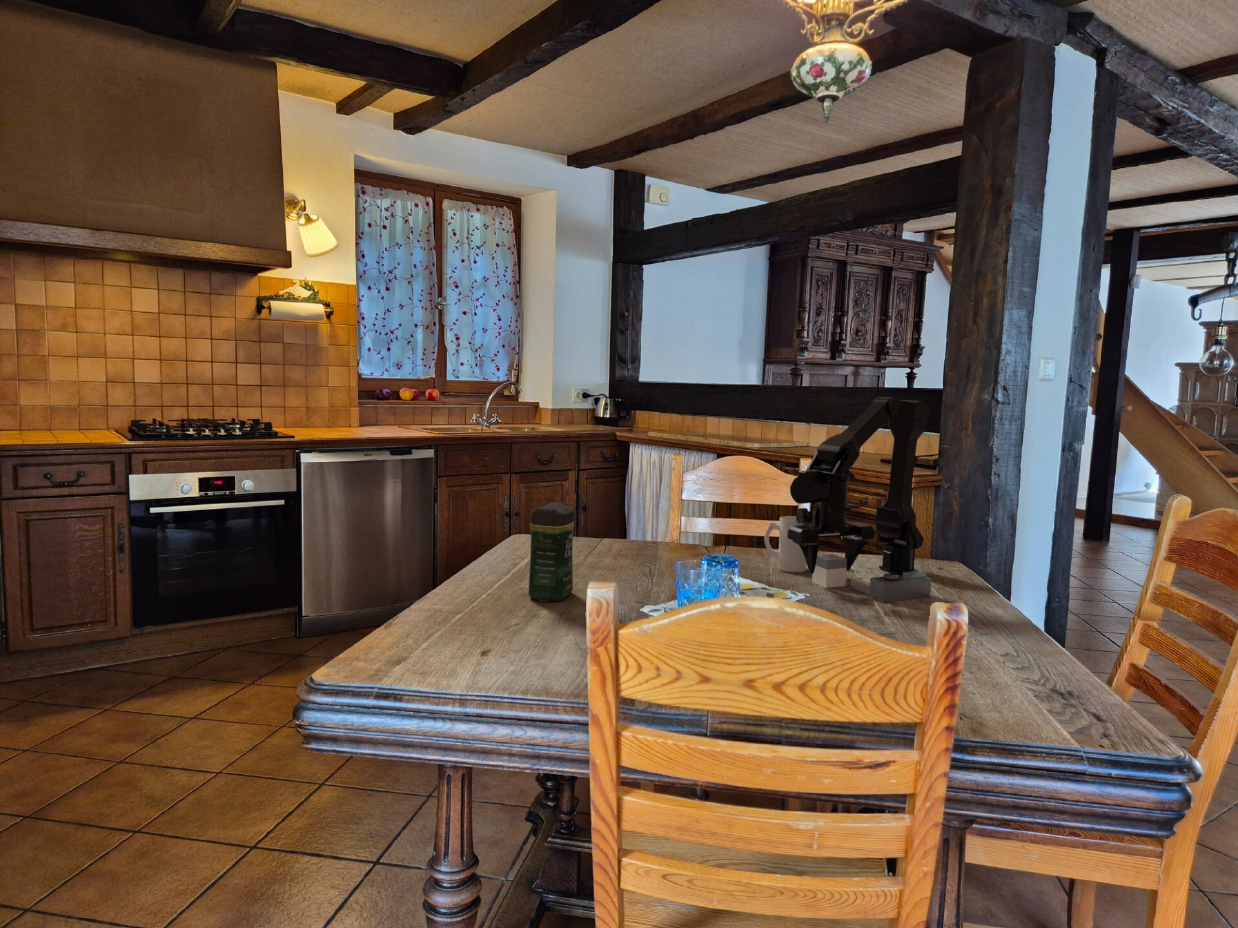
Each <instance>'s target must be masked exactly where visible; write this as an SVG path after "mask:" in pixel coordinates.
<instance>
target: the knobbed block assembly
mask: <svg viewBox="0 0 1238 928" xmlns="http://www.w3.org/2000/svg"><path fill="white" fill-rule="evenodd" d="M869 580H870V581H866V580H864V579H863V578H862V577H851V578H850V588H851V589H854V590H856V591H859V592H860V593H863V594H865V595H868V597H869V598H871V599H874V600H876V601H879V602H881V603H886V602H887V603H888V602H897V601H905V600H908V601H909V600H917V599H926V598H931V594H932V593H931V591H932V577H929V576H928V573H926V572H923V571H921V570H919V571H911V572H903V574H894V573H892V572H888V573H887V572H886V573H884V574H883V575H882V576H875V577H870V579H869Z"/></svg>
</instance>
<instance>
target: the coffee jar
mask: <svg viewBox="0 0 1238 928" xmlns="http://www.w3.org/2000/svg"><path fill="white" fill-rule="evenodd" d="M529 519H530V520H529V529H530V531H529V532H530V556H529V559H530V560H529V578H528V596H529V597H530V598H533V599H535V600H538V601H539V602H540V601H541V602H549V601H558V602H559V601H562V600H563V599H565V598H567V597H569V596H570V594H572V592H573V590H574V588H573V587H574V584H573V583H574V582H573V581H574V580H573V579H574V576H573V574H574V573H573V548H574V546H573V545H574V543H573V538H574V528H575V527H574V525H575V510H574V509H573V507H572V506H570V504H568V503H561V502H550V503H548V504H545V505H543V506H539V507H536V508H535V509H533V510H531V511H530V517H529Z"/></svg>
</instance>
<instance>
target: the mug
mask: <svg viewBox="0 0 1238 928" xmlns="http://www.w3.org/2000/svg"><path fill="white" fill-rule="evenodd" d="M801 525H803V523H797V521H796V515H795V516H793V515H791V516H790V515H786V516H780V517H779V523H776V522H775V521H774V522H772V521H769V525H768V526H767V528H766V530H765V534H764V544H765V545H764V546H765V547H766V551H767V553H768V555H769V557H775V558H778V570H780V571H783V572H785V573H786V572H787V573H795V574H797V573H804V572H806V571H807V563H806V560H805V557H804V554H803V552H802V549H801V547H800V546H799V545H798V544H796V543H794V542H793V540H791V539H788V530H789V528H790V527H791V526H801ZM774 530H778V531H779V537H778V538H779V539H778V542H779V543H778V544H779V547H778V549H777V550H775V549H774V548H772V546H771V543H770V534H771V533H772V531H774Z"/></svg>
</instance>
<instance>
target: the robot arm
mask: <svg viewBox="0 0 1238 928" xmlns="http://www.w3.org/2000/svg"><path fill="white" fill-rule="evenodd" d="M929 409H930V408H929V407H928V406H927V404H926V403H925V402H924V401H922V400H909V399H908V400H907V399H906V400H905V399H902V400H901V399H897V398H895V397H889V396H888V397H886V396H884V397H883V396H878V397H875V398H874V399H872V400H871V404H870V405H869V406H868V407H867V408H866V409H865V410H864V411H863V412H861V414H860V415H859V416H857V418H856V419H854V421H852V423H851V424H850V425H849V426H848V427H847V428H845V430H843V431H841V433H837V434H835V435H833V436H830V437H828V438H827V439H825V440H824V441H822V442H820V444H819V445H818V446H817V448H816V452H815V454H814V456H813V458H812V459H811V461H810V462H809V465H808V466H807V468H806V469H805V470H798V472H797V477H795V478H793V480H792V481H791V485H790V486H789V492H790V493H789V494H790V497H791V498H792V500H793V501H794V502H795V503H797V504H799V505H801V504H802V505H803V504H813V503H815V505H814V510H810V511H809V510H808V508H807V507H800V508H797V509H796V512H795V516H796V521H797V523H803V525H801V526H791V527H790V528H789V530H788V539H791V540H793V542H794V543H796V544H798V545H799V546H800V547H801V549H802V552H803V554H804V557H805V560H806V563H807V564H806V567H807V569H808V572H809V573H810V574H813V573H814V570H815V567H816V560H817V555H819V548H820V544H819V543H817V541H818V540H819V539H820V538H833V537H842V540H843V542H844V546H845V549H844V558H846V559H847V565H846V572H848V571H850V570H851V568H852V567H853V565H854V563H855V561H856V560H857V558H858V556H859V554H860V553H861V551H862V550H863V549H864V547H865V546H866V545H867V544H870V540H875V533H876V534H877V538H878V542H879V543H882V544H883V543H884V549H883V550H882V551H883V552H882V563H881V564H882V565H878V568H879V569H881V570H884V571H886V572H888V573H892V574H897V575H903V572H911V571H920V570H919V569H917V568H915V558H916V550H919V549H920V548H922V547H923V545H924V541H925V538H924V536H923V535H922V533H921V531H920V530H919V528H918V527H917V515H916V513H915V510H914V508H913V506H912V504H911V498H912V497H911V496H912V491H913V489H912V488H913V480H914V469H915V462H916V453H917V446H918V445H917V444H918V440H919V439H920V437H921V436H922V434H924V432H925V431H926V429H927V425H928V420H929V418H930V417H929V416H930V410H929ZM886 422H888V425H887V426H888V428H889V430H890V432H891V434H892V437H893V445H892V447H893V448H892V453H891V454H892V455H891V461H890V462H891V464H890V472H889V479H888V480H889V481H888V491H887V499H886V501H885V502H884V503H883V505H881V506H877V507H876V510H875V511H876V514H875V515H876V516H875V520H874V525H875V528H874V526H872V525H871V524H866V523H864V522H861V521H859V522H858V521H857V522H847V513H848V512H849V513H850V512H851V508H852V507H851V506H849V505H848V490H849V489H848V487H849V480H855V478H856V476H855V474H853V473H852V472H851V470H850V469H851V468H853V465H854V464H855V463H856V462H857V460H858V459H859V457H860V452H861V448H862V447H863V445H864V444H866V442H868V440H869V439H870V438H872V436H873V435H874V434H875V433H876V432H877V431H878V430H879V429H880V428H881V427H883V425H884V424H885V423H886Z"/></svg>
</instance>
